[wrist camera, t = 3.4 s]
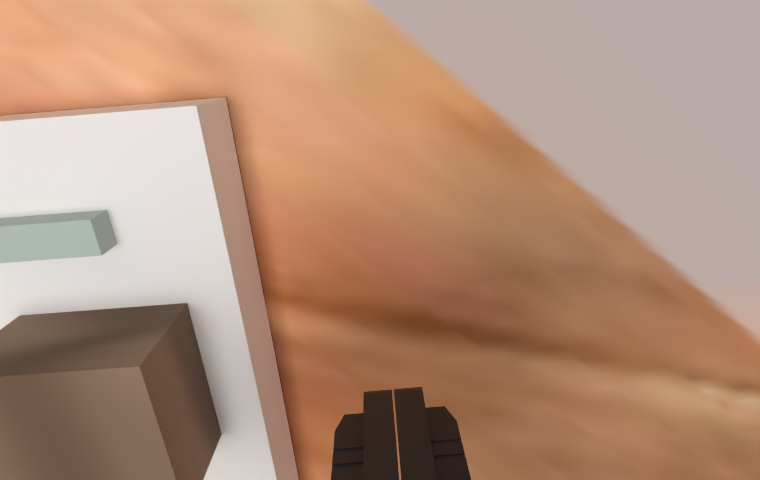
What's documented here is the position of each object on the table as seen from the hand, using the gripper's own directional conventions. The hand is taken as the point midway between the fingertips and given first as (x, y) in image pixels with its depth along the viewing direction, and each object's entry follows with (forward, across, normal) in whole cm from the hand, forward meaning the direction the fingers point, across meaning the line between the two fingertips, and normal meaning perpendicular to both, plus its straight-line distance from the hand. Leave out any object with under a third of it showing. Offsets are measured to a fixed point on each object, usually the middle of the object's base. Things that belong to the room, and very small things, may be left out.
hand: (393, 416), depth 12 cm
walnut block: (+3, +8, 0) cm, 9 cm away
